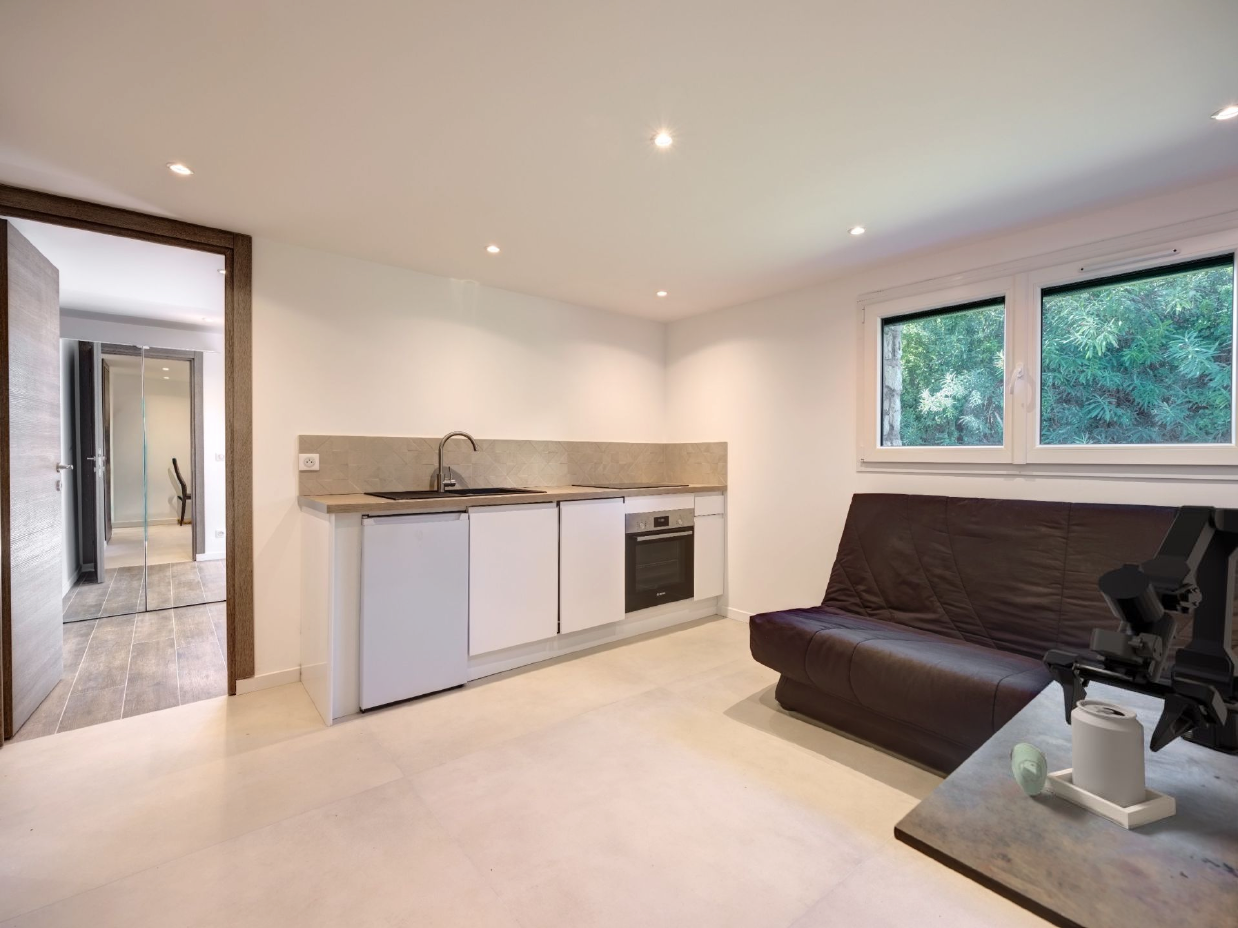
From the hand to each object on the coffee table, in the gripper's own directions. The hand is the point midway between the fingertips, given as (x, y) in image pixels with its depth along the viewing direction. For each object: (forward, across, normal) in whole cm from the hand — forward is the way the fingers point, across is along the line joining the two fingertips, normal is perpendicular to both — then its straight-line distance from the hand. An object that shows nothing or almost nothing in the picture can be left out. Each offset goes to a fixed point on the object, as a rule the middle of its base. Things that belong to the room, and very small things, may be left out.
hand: (1108, 736), depth 76 cm
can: (+6, 0, +6) cm, 8 cm away
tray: (+6, 0, +6) cm, 9 cm away
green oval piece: (+12, -6, 0) cm, 13 cm away
